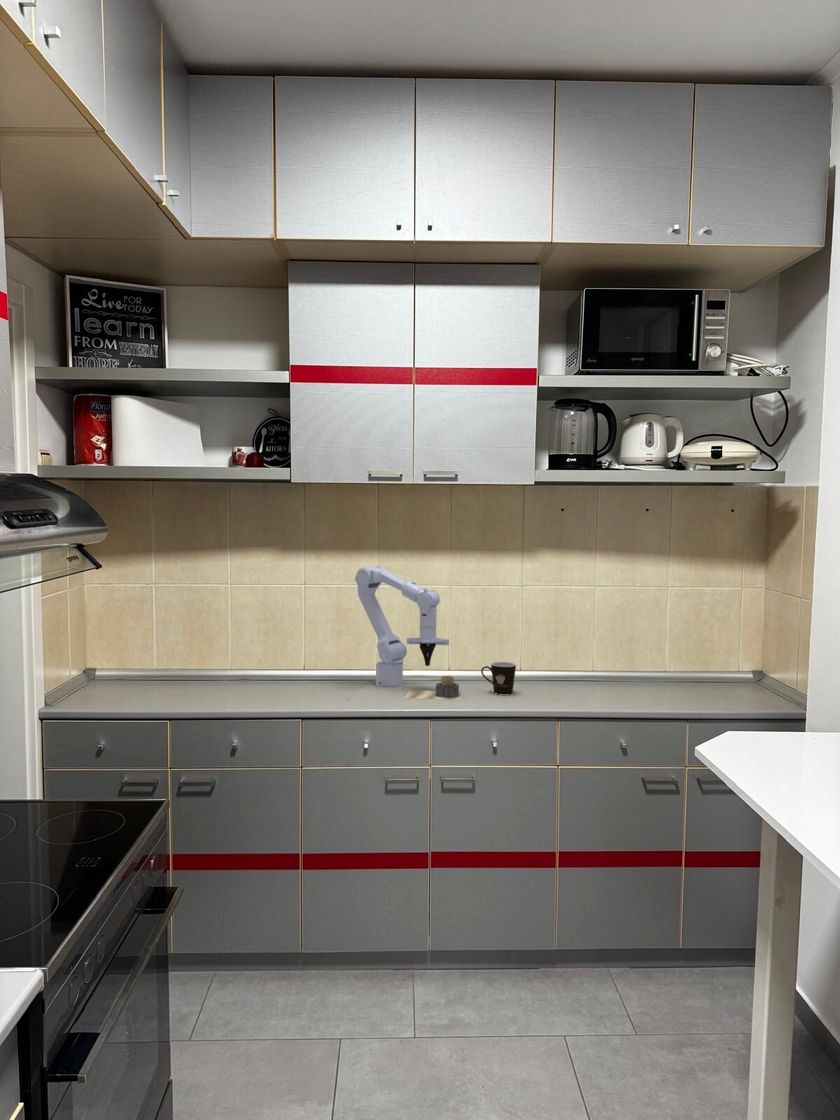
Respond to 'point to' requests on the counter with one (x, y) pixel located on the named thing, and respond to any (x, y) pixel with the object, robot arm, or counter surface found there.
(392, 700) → the counter surface
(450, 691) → the sleeve
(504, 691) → the coffee mug
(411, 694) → the board
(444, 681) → the plug
